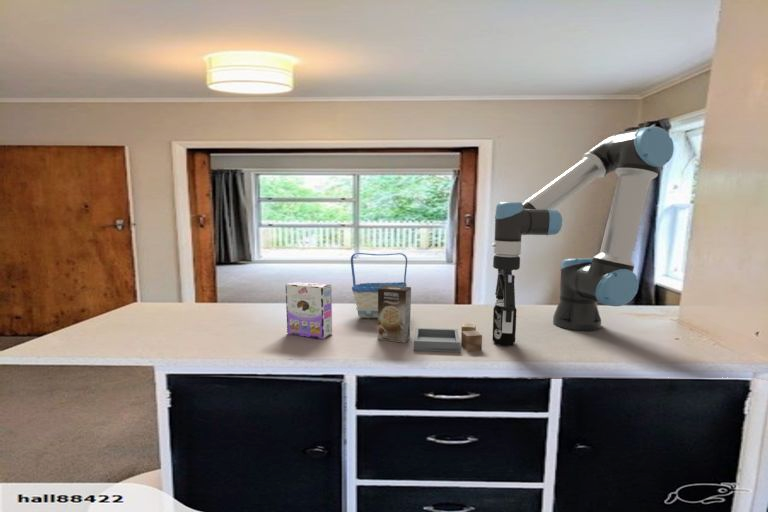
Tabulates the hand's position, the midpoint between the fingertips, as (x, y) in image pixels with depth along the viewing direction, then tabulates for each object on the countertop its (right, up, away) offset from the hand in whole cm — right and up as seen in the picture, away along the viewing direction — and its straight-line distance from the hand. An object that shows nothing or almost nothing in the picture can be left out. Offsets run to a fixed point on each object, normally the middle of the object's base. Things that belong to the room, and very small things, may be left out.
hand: (503, 326), depth 132 cm
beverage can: (0, -5, +1) cm, 5 cm away
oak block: (-9, -5, +6) cm, 12 cm away
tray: (-20, -5, 0) cm, 21 cm away
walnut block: (-10, -6, -4) cm, 12 cm away
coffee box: (-32, -5, +5) cm, 33 cm away
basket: (-38, -2, +32) cm, 49 cm away
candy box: (-59, -4, +9) cm, 60 cm away
